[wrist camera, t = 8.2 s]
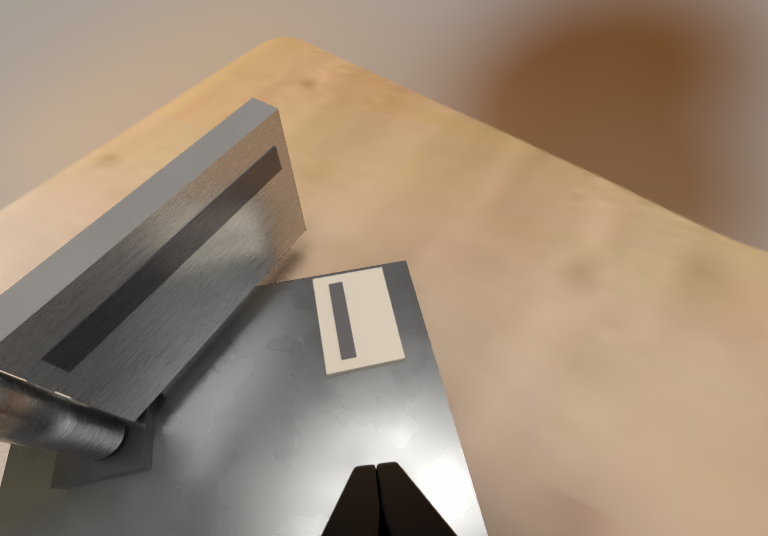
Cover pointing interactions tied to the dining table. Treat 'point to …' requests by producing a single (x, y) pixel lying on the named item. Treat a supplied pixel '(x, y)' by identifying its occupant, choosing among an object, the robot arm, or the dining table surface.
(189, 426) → the metal base plate
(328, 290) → the label plate
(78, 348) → the grey slotted panel
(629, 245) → the dining table surface
